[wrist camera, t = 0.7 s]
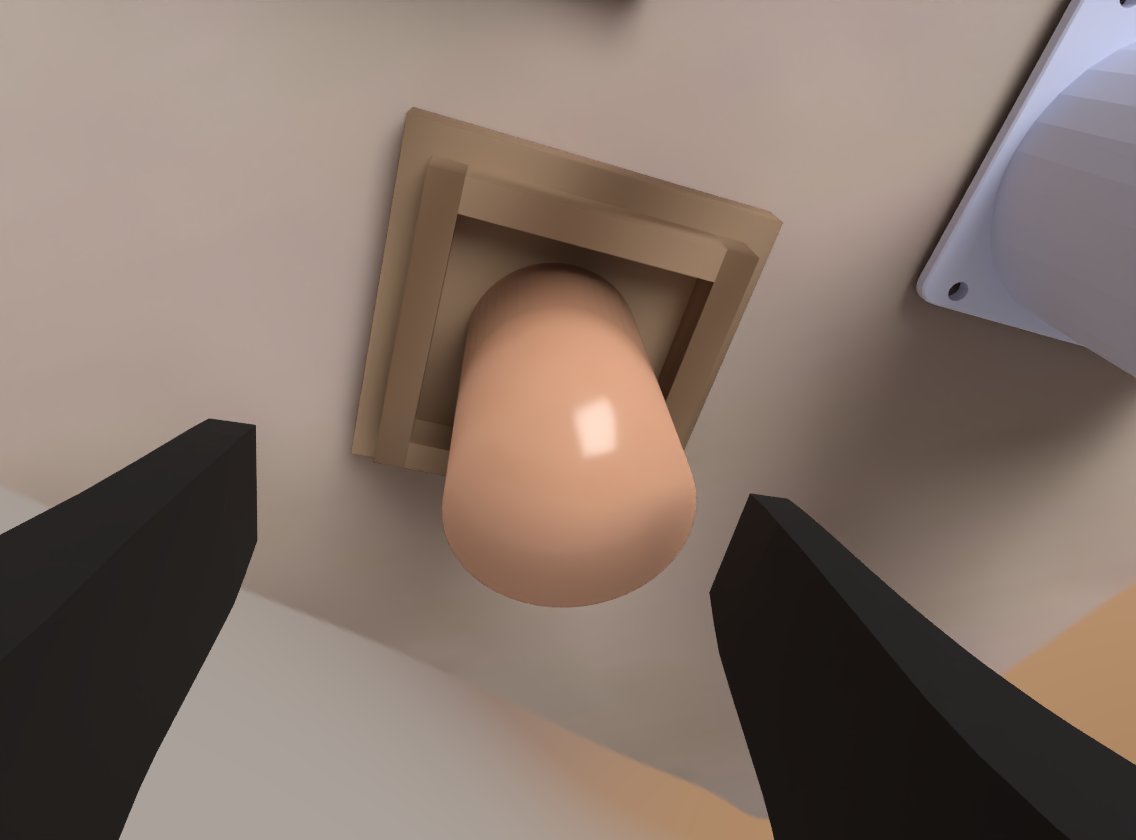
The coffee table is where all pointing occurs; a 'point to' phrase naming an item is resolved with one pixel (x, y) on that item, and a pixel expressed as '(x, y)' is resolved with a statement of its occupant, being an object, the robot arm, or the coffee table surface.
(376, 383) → the holder
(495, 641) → the coffee table surface
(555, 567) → the peg
